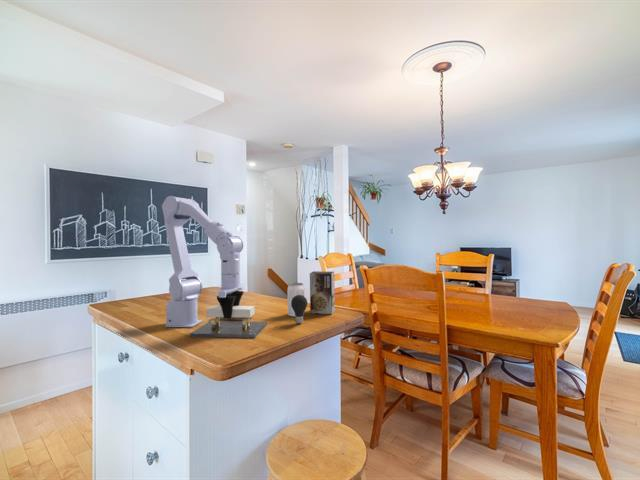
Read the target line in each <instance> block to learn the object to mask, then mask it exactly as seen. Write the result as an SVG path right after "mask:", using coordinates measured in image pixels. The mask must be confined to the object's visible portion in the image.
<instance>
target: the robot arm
mask: <svg viewBox="0 0 640 480" xmlns="http://www.w3.org/2000/svg"><path fill="white" fill-rule="evenodd" d="M161 209H162V213H163V219H164V228H165V232H166V237H167V243H168V246H169V252H170V255H171V261H172V266H173V270H174V273H173V274H172V275H171V276H170V277H169V278H168V283H169V287H168V292H169V293H168V294H169V295H170V299H169V300H168V301H167V304H166V309H165V310H166V311H165V312H166V315H165V316H166V317H165V318H166V321H165V322H166V325H164V327H165V328H193V327H195V326H196V325H198V324H200V323H201V322H202V323H203V319H198V316H199V314H198V309H199V308H198V298H199V297H200V294H201V293H202V292H203V287H204V286H203V282H202V281H201V279H200V277H199V274H198V273H197V272H196V271H194V269H192V264H191V260H190V255H189V251H188V247H187V245H188V244H187V240H186V236H185V232H184V225H185V224H187V223H188V222H189V221H190V220H191V219H193V220H194V221H195V222H196V223H197V224H199V225H200V226H201V227H202V228H204V234H205V235H206V236H207V237H208V238H209V239H210V240H211V241H212V242H213V243H214V244H215V245H216V249H217V252H218V253H219V259H220V262H221V264H220V266H221V267H220V269H221V270H220V271H221V273H220V275H221V277H220V279H221V281H220V282H221V283H220V285H221V286H220V289H219V291H218V295H217V296H216V300H217V301H218V303H219V306H221V308H222V312H223V316H224V318H231V316H232V310H233V306H240V302H241V300H242V298H243V295H244V291H243V290H244V286H242V284H241V283H240V282H241V280H240V277H241V275H240V274H241V270H240V269H241V268H240V266H241V265H240V263H241V262H240V254H241V252H242V251H243V249H244V241H243V240H242V238H241V237H240V236H238V235H233V233H232V232H231V231H229V230H228V229H226V227H224V224H223V222H220V221H213V220H212V219H211V218H210V217H209V216H208V215H207V213H206V212H205V211H204V210H203V209H202V208H201V207H200V204H199V203H198V202H196V200H194V199H193V198H185V197H178V196H173V195H168V196H167V197H166V198H165V199H164V201H163V203H162V205H161Z"/></svg>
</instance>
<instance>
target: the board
mask: <svg viewBox="0 0 640 480" xmlns="http://www.w3.org/2000/svg"><path fill="white" fill-rule="evenodd" d="M255 307H256V306H255V305H239V306H233V310H232V316H231V317H247V318H250V317H251V318H252V317H253V316H254V315H255V314H256V313H255V312H256V311H255V310H256V308H255ZM215 317H224V316H223V312H222V308H221V305H212V306H209V307H208V308H206V318H215Z"/></svg>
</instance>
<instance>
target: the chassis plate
mask: <svg viewBox="0 0 640 480" xmlns="http://www.w3.org/2000/svg"><path fill="white" fill-rule="evenodd" d="M267 325H268V323H267V321H251V319H250V318H247V317H245V319H242V320H220V317H213V318H211V320H210V321H207V322H206V323H205V324H203V325H202V326H201V325H200V327H198V328H196V329H195V330H194V331H192V332H190V333H189V337H190V338H222V339H223V338H227V339H228V338H231V339H232V338H233V339H234V338H237V339H256V338H257V337H258V335H260V333H261V332H262V331H263V330H264V329H265V327H266V326H267Z"/></svg>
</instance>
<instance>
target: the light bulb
mask: <svg viewBox="0 0 640 480" xmlns="http://www.w3.org/2000/svg"><path fill="white" fill-rule="evenodd" d="M291 306H292V308H293V310H294V312H295V316H296V317H295V322H296V323H297V324H298V325H301V324H302V323H303V322H304V315H305V311H306V309H307V307H308V300H307V298H306V297H305V295H304V296H303V295H296V296H295V297H294V298H293V299H292V301H291Z"/></svg>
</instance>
